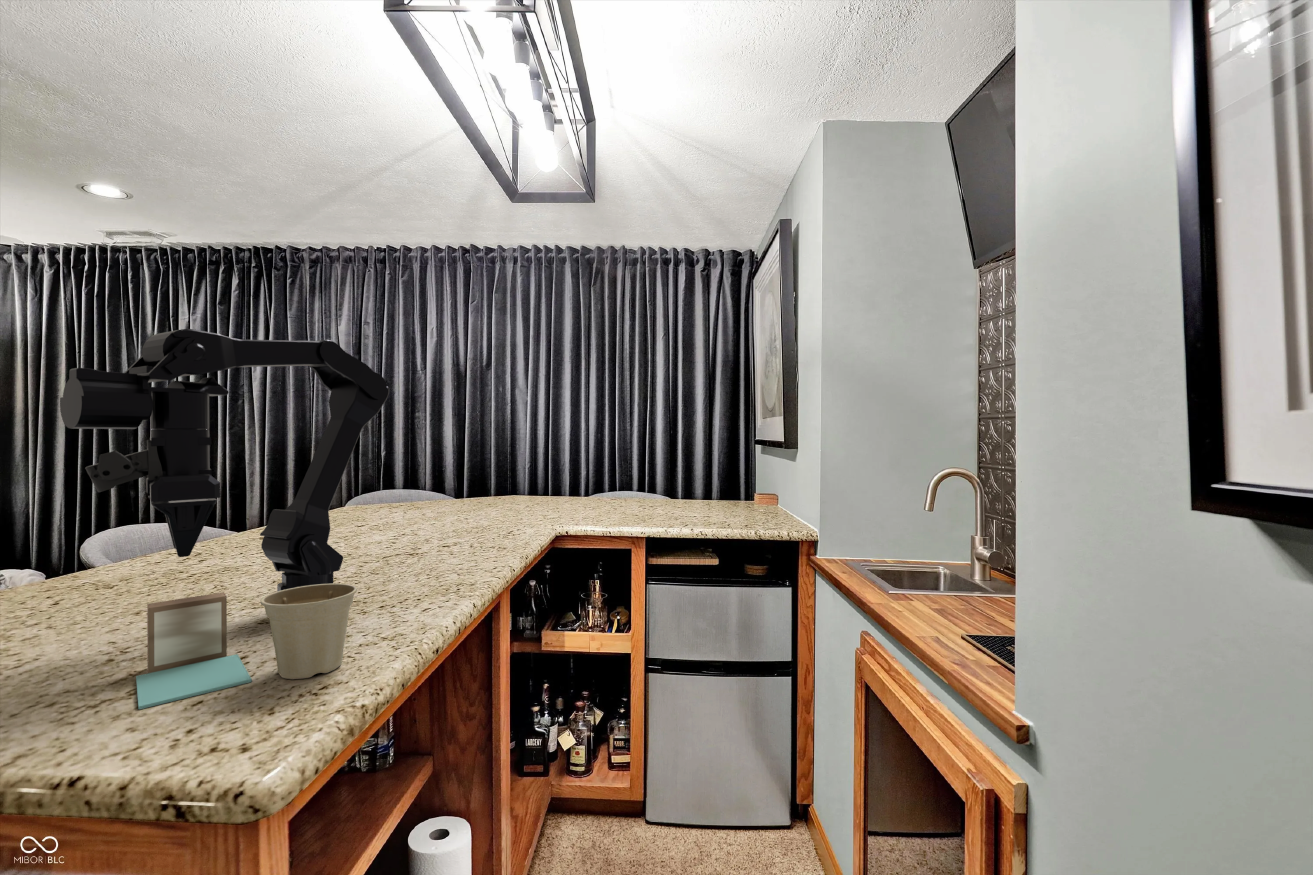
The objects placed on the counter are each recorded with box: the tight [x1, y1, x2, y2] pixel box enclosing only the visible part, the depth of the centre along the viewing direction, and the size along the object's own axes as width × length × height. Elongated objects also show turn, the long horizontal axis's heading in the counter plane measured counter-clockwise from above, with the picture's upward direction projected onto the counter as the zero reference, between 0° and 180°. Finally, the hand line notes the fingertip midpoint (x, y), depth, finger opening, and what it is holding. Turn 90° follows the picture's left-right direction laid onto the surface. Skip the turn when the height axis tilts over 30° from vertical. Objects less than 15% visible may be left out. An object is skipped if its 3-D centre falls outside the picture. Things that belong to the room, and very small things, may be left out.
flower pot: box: [260, 582, 358, 680], centre depth 64 cm, size 9×9×9 cm
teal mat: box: [135, 653, 252, 710], centre depth 61 cm, size 9×10×1 cm
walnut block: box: [146, 591, 228, 674], centre depth 66 cm, size 7×2×8 cm, turn 134°
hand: (181, 552), depth 72 cm, fingers open, 7 cm apart
